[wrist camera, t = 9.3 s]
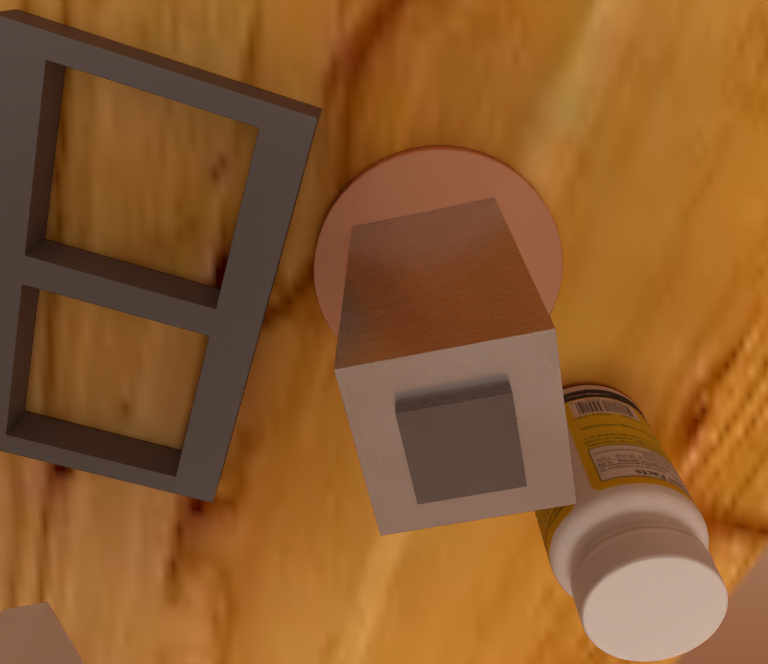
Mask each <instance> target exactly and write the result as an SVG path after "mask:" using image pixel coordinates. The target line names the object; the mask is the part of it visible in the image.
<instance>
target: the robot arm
mask: <svg viewBox="0 0 768 664" xmlns="http://www.w3.org/2000/svg"><path fill="white" fill-rule="evenodd" d="M0 664H84V662H83V661H82V659H81V657H80V655H79V654H78V652H77V650H76V649H75V647H74V645H73V644H72V642H71V640H70V639H69V637H68V635H67V634H66V632H65V630H64V629H63V627H62V625H61V623H60V622H59V620H58V618H57V617H56V615H55V613H54V612H53V610H52V608H51V607H50V605H49V603H48V602H44V603H39V604H33V605H28V606H22V607H17V608H11V609H6V610H3V611H2V613H1V615H0Z"/></svg>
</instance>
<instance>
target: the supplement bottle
mask: <svg viewBox="0 0 768 664" xmlns="http://www.w3.org/2000/svg"><path fill="white" fill-rule="evenodd" d="M563 396H564V405H565V413H566V421H567V430H568V438H569V446H570V454H571V463H572V471H573V479H574V488H575V496H576V504H572V505H566V506H560V507H554V508H547V509H541V510H535V513H536V517H537V520H538V524H539V527H540V531H541V534H542V538H543V541H544V545H545V548H546V551H547V555H548V559H549V562H550V565H551V568H552V571H553V573H554V575H555V577H556V579H557V581H558V582H559V584H560V585H561V586H562V588H563V589H564V590H565V591H566V592H567V593H568V594H569V595H571V596H572V597H573V599H574V602H575V605H576V607H577V610H578V613H579V616H580V619H581V623H582V625H583V628H584V630H585V632H586V634H587V636H588V637H589V638H590V640H591V641H592V642H593V643H594V644H595V645H596V646H597V647H598V648H599V649H601V650H603V651H604V652H606V653H608V654H610V655H612V656H614V657H617V658H620V659H624V660H630V661H658V660H664V659H668V658H672V657H675V656H678V655H681V654H683V653H686V652H688V651H690V650H692V649H693V648H695V647H697V646H698V645H700V644H702V643H703V642H704V641H705V640H707V639H708V638H709V637H710V636H711V635H712V634H713V633H714V632H715V631H716V629H717V628H718V627H719V625H720V624H721V622H722V620H723V618H724V616H725V613H726V610H727V606H728V596H727V590H726V587H725V584H724V582H723V580H722V578H721V576H720V574H719V572H718V570H717V568H716V566H715V564H714V561H713V558H712V556H711V554H710V553H709V551H708V546H709V538H708V531H707V527H706V524H705V521H704V519H703V517H702V514H701V512H700V510H699V509H698V507H697V505H696V504H695V502H694V500H693V499H692V497H691V495H690V494H689V492H688V490H687V489H686V487H685V485H684V483H683V482H682V480H681V478H680V477H679V475H678V473H677V471H676V470H675V468H674V466H673V465H672V463H671V461H670V460H669V458H668V456H667V454H666V453H665V451H664V449H663V448H662V446H661V444H660V443H659V441H658V439H657V438H656V436H655V434H654V432H653V431H652V429H651V427H650V426H649V424H648V422H647V421H646V419H645V417H644V415H643V414H642V412H641V411H640V409H639V408H638V407H637V406H636V404H635V403H634V402H633V401H632V400H630V399H629V398H628V397H626V396H625V395H623V394H622V393H620V392H618V391H616V390H613V389H611V388H607V387H603V386H597V385H581V386H574V387H570V388H567V389H564V390H563Z"/></svg>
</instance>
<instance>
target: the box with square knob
mask: <svg viewBox="0 0 768 664" xmlns="http://www.w3.org/2000/svg"><path fill="white" fill-rule="evenodd" d="M334 371H335V375H336V378H337V382H338V385H339V389H340V392H341V396H342V400H343V403H344V407H345V410H346V414H347V417H348V421H349V425H350V428H351V432H352V435H353V439H354V442H355V446H356V450H357V453H358V457H359V460H360V464H361V467H362V471H363V475H364V478H365V482H366V485H367V489H368V492H369V496H370V500H371V503H372V507H373V510H374V514H375V517H376V521H377V525H378V528H379V532H380V535H388V534H394V533H400V532H406V531H412V530H418V529H424V528H431V527H437V526H443V525H449V524H455V523H461V522H467V521H474V520H480V519H486V518H492V517H498V516H504V515H510V514H517V513H523V512H529V511H535V510H541V509H547V508H554V507H560V506H566V505H572V504H576V496H575V488H574V479H573V471H572V463H571V454H570V446H569V438H568V430H567V421H566V413H565V405H564V396H563V388H562V380H561V372H560V363H559V355H558V347H557V338H556V330H555V327H554V325H553V322H552V320H551V318H550V316H549V314H548V312H547V309H546V307H545V305H544V303H543V301H542V299H541V296H540V294H539V292H538V290H537V288H536V286H535V283H534V281H533V279H532V277H531V275H530V273H529V270H528V268H527V266H526V264H525V262H524V260H523V257H522V255H521V253H520V251H519V249H518V247H517V244H516V242H515V240H514V238H513V236H512V234H511V231H510V229H509V227H508V225H507V223H506V221H505V218H504V216H503V214H502V212H501V210H500V208H499V205H498V203H497V201H496V199H495V197H494V198H489V199H484V200H479V201H474V202H469V203H464V204H459V205H454V206H449V207H445V208H440V209H435V210H430V211H425V212H420V213H415V214H410V215H405V216H400V217H396V218H391V219H386V220H381V221H376V222H371V223H366V224H361V225H356V226H352V229H351V237H350V245H349V253H348V261H347V269H346V278H345V286H344V294H343V302H342V310H341V318H340V326H339V334H338V342H337V350H336V358H335V366H334Z"/></svg>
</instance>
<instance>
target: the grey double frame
mask: <svg viewBox="0 0 768 664" xmlns="http://www.w3.org/2000/svg"><path fill="white" fill-rule="evenodd" d="M65 66H67V67H70V68H74V69H77V70H80V71H83V72H86V73H89V74H92V75H96V76H99V77H102V78H105V79H108V80H111V81H114V82H118V83H121V84H124V85H127V86H130V87H133V88H137V89H140V90H143V91H146V92H149V93H152V94H155V95H159V96H162V97H165V98H168V99H171V100H174V101H177V102H181V103H184V104H187V105H190V106H193V107H196V108H199V109H203V110H206V111H209V112H212V113H215V114H218V115H221V116H225V117H228V118H231V119H234V120H237V121H240V122H243V123H247V124H250V125H253V126H256V127H259V132H258V136H257V140H256V144H255V149H254V153H253V157H252V161H251V165H250V169H249V174H248V178H247V182H246V186H245V190H244V195H243V199H242V203H241V207H240V211H239V215H238V220H237V224H236V228H235V232H234V236H233V240H232V245H231V249H230V253H229V257H228V261H227V266H226V270H225V274H224V278H223V282H222V286H221V289H217V288H214V287H210V286H207V285H203V284H200V283H196V282H193V281H189V280H186V279H182V278H179V277H175V276H172V275H168V274H165V273H161V272H158V271H154V270H151V269H147V268H144V267H140V266H137V265H133V264H130V263H126V262H123V261H119V260H116V259H112V258H109V257H105V256H102V255H98V254H95V253H91V252H88V251H84V250H81V249H77V248H74V247H70V246H67V245H63V244H60V243H56V242H53V241H49V240H46V239H45V233H46V225H47V216H48V208H49V199H50V191H51V182H52V174H53V165H54V157H55V148H56V140H57V131H58V123H59V114H60V106H61V97H62V89H63V80H64V72H65ZM320 112H321V108H318V107H314V106H311V105H308V104H305V103H302V102H299V101H296V100H293V99H290V98H287V97H284V96H281V95H278V94H274V93H271V92H268V91H265V90H262V89H259V88H256V87H253V86H250V85H247V84H244V83H241V82H238V81H235V80H231V79H228V78H225V77H222V76H219V75H216V74H213V73H210V72H207V71H204V70H201V69H198V68H195V67H192V66H188V65H185V64H182V63H179V62H176V61H173V60H170V59H167V58H164V57H161V56H158V55H155V54H152V53H148V52H145V51H142V50H139V49H136V48H133V47H130V46H127V45H124V44H121V43H118V42H115V41H112V40H109V39H105V38H102V37H99V36H96V35H93V34H90V33H87V32H84V31H81V30H78V29H75V28H72V27H69V26H66V25H62V24H59V23H56V22H53V21H50V20H47V19H44V18H41V17H38V16H35V15H32V14H29V13H26V12H23V11H19V10H9V11H2V12H0V451H4V452H8V453H12V454H16V455H20V456H24V457H28V458H32V459H36V460H40V461H45V462H49V463H53V464H57V465H61V466H65V467H69V468H73V469H77V470H81V471H85V472H90V473H94V474H98V475H102V476H106V477H110V478H114V479H118V480H122V481H126V482H130V483H134V484H139V485H143V486H147V487H151V488H155V489H159V490H163V491H167V492H171V493H175V494H179V495H184V496H188V497H192V498H196V499H200V500H204V501H208V502H212V503H213V500H214V497H215V494H216V490H217V487H218V484H219V481H220V478H221V474H222V471H223V467H224V463H225V460H226V456H227V452H228V449H229V445H230V441H231V438H232V434H233V430H234V427H235V423H236V419H237V416H238V412H239V408H240V405H241V401H242V397H243V394H244V390H245V386H246V383H247V379H248V376H249V372H250V368H251V365H252V361H253V357H254V354H255V350H256V346H257V343H258V339H259V335H260V332H261V328H262V324H263V321H264V317H265V313H266V310H267V306H268V302H269V299H270V295H271V291H272V288H273V284H274V280H275V277H276V273H277V269H278V266H279V262H280V259H281V255H282V251H283V248H284V244H285V240H286V237H287V233H288V229H289V226H290V222H291V218H292V215H293V211H294V207H295V204H296V200H297V196H298V193H299V189H300V185H301V182H302V178H303V174H304V171H305V167H306V163H307V160H308V156H309V152H310V149H311V145H312V141H313V138H314V134H315V131H316V127H317V123H318V120H319V116H320ZM39 289H41V290H45V291H48V292H52V293H55V294H59V295H63V296H66V297H70V298H74V299H77V300H81V301H85V302H88V303H92V304H95V305H99V306H103V307H106V308H110V309H114V310H117V311H121V312H124V313H128V314H132V315H135V316H139V317H143V318H146V319H150V320H153V321H157V322H161V323H164V324H168V325H172V326H175V327H179V328H182V329H186V330H190V331H193V332H197V333H201V334H204V335H208V336H210V337H209V341H208V345H207V349H206V353H205V358H204V362H203V366H202V370H201V374H200V378H199V383H198V387H197V391H196V395H195V399H194V404H193V408H192V412H191V416H190V420H189V424H188V429H187V433H186V437H185V441H184V445H183V450H182V451H179V450H175V449H171V448H168V447H164V446H160V445H156V444H152V443H148V442H144V441H140V440H136V439H132V438H128V437H124V436H120V435H116V434H112V433H108V432H104V431H100V430H96V429H92V428H88V427H84V426H81V425H77V424H73V423H69V422H65V421H61V420H57V419H53V418H49V417H45V416H41V415H37V414H33V413H29V412H25V403H26V395H27V386H28V378H29V369H30V361H31V352H32V344H33V335H34V327H35V318H36V310H37V301H38V293H39Z"/></svg>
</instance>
